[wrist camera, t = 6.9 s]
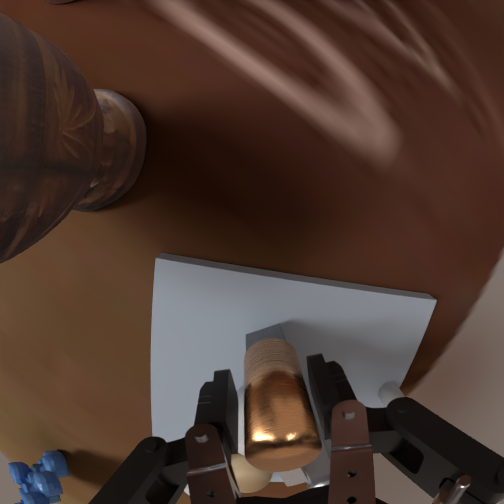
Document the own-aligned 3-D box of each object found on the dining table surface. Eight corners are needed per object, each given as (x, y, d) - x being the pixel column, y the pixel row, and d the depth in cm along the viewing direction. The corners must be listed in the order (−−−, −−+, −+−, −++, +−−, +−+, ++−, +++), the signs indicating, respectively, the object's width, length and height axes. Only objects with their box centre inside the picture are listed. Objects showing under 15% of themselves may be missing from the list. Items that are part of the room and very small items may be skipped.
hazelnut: (224, 434, 20) (222, 474, 16) (276, 438, 20) (281, 478, 16) (219, 461, 21) (216, 498, 17) (265, 465, 21) (268, 501, 17)
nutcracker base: (161, 252, 17) (124, 289, 12) (428, 293, 19) (478, 332, 13) (157, 457, 22) (145, 506, 16) (340, 470, 23) (353, 515, 18)
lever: (346, 475, 21) (367, 542, 13) (301, 488, 21) (313, 557, 14) (290, 311, 16) (324, 415, 9) (216, 336, 17) (200, 446, 9)
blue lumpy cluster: (39, 411, 21) (-13, 491, 9) (93, 451, 22) (56, 538, 11) (22, 444, 23) (-15, 505, 11) (64, 475, 24) (36, 540, 13)
